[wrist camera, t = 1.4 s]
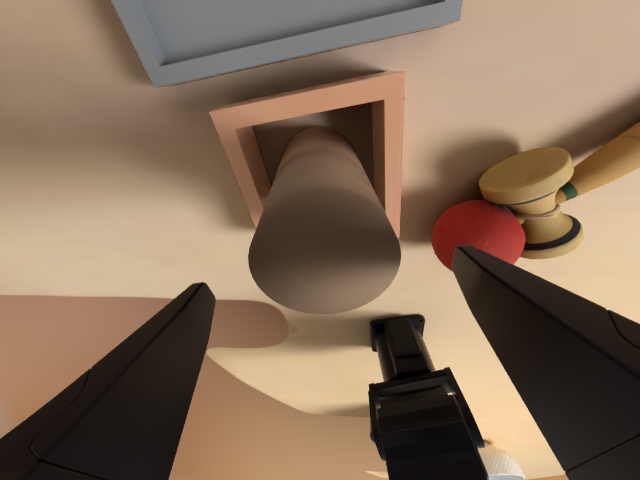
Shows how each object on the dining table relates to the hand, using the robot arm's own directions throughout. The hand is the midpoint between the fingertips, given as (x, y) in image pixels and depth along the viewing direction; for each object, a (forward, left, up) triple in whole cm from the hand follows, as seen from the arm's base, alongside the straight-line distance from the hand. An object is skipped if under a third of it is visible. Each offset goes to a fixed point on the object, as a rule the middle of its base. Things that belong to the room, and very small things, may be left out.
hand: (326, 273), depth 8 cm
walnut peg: (0, 0, -11) cm, 11 cm away
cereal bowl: (-81, -27, -12) cm, 86 cm away
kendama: (-4, -16, -12) cm, 20 cm away
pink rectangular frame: (0, 0, -11) cm, 11 cm away
